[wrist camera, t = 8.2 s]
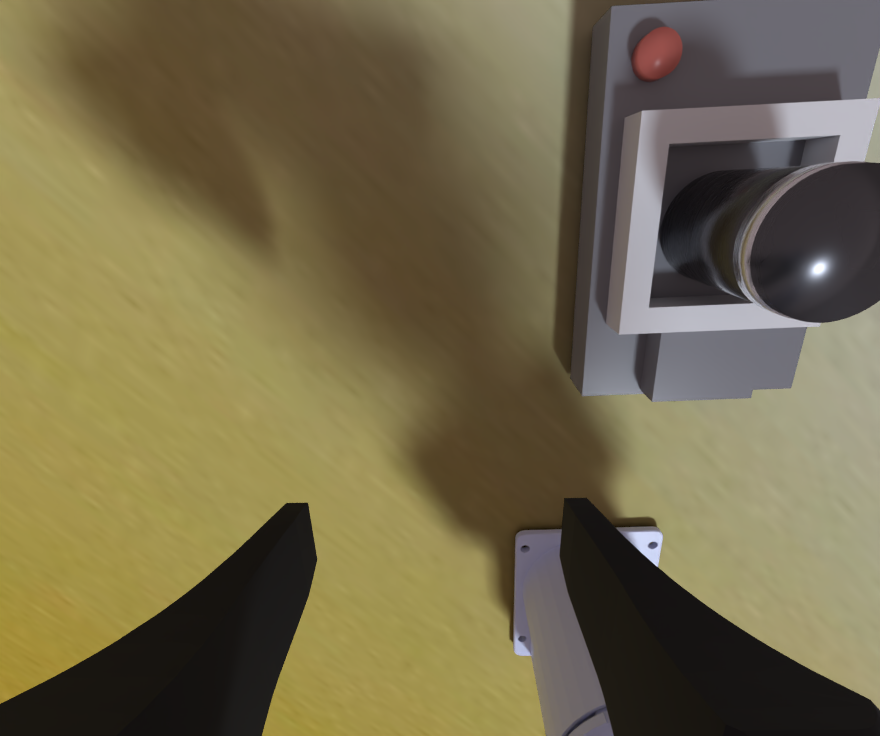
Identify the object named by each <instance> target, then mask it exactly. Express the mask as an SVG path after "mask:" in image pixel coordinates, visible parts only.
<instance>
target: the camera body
mask: <svg viewBox="0 0 880 736" xmlns="http://www.w3.org/2000/svg"><path fill="white" fill-rule="evenodd" d="M879 48H880V0H706V1H689V2H672V3H655V4H638V5H621V6H611V7H610V9H609V10H608V11H607V12H606V13H605V14H604V15H603V16H602V17H601V18H600V20H599V21H598V22H597V23H596V24H595V25H594V26H593V34H592V49H591V65H590V80H589V96H588V111H587V127H586V142H585V158H584V173H583V189H582V204H581V220H580V236H579V251H578V267H577V282H576V298H575V313H574V329H573V344H572V360H571V375H570V379H571V380H572V382H573V383H574V385H575V386H576V388H577V389H578V391H579V392H580V394H581V395H582V396H597V395H623V394H645V395H646V396H647V397H648V398H649V399H650V400H651V401H652V402H657V401H684V400H711V399H738V398H751V395H752V391H753V390H756V389H783V388H791V386H792V383H793V379H794V375H795V371H796V367H797V363H798V359H799V356H800V352H801V348H802V344H803V340H804V336H805V333H806V329H807V327H817V326H820V323H812V322H804V321H799V320H796V319H791V318H786V317H783V316H781V315H778V314H775V313H773V312H770V311H768V310H765V309H763V308H761V307H759V306H757V305H755V304H754V303H752V302H750V301H747V300H744V299H742V298H739V297H737V296H734V295H731V294H729V293H726V292H724V291H721V290H718V289H716V288H713V287H711V286H708V285H706V284H703V283H700V282H698V281H695V280H693V279H690V278H687V277H685V276H683V275H681V274H679V273H678V272H676V271H675V270H674V269H673V268H672V267H671V266H670V265H669V263H668V262H667V261H666V259H665V257H664V254H663V251H662V248H661V240H660V234H661V226H662V222H663V219H664V216H665V213H666V211H667V209H668V207H669V205H670V204H671V202H672V201H673V199H674V198H675V197H676V196H677V194H678V193H679V192H680V191H681V190H682V189H683V188H684V187H685V186H687V185H688V184H689V183H690V182H692V181H694V180H695V179H697V178H699V177H701V176H703V175H705V174H708V173H711V172H715V171H721V170H737V169H756V168H775V167H794V166H811V165H815V164H820V163H831V162H848V161H860V162H864V161H865V157H866V153H867V150H868V146H869V142H870V138H871V135H872V131H873V127H874V124H875V120H876V116H877V113H878V109H879V105H880V98H873V99H866V98H867V94H868V90H869V86H870V83H871V79H872V75H873V71H874V67H875V63H876V59H877V56H878V52H879Z"/></svg>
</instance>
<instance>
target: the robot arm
mask: <svg viewBox="0 0 880 736" xmlns="http://www.w3.org/2000/svg"><path fill="white" fill-rule="evenodd" d="M662 540H663V534H662V533H661V531H660V530H659V528H657V527H653V526H648V527H614V526H613V525H612V523H611V522H610V521H609V520H608V519H607V518H606V517H605V516H604V515H603V514H602V513H601V512H600V511H599V510H598V509H597V508H596V507H595V506H594V505H593V504H592V503H591V502H590V501H589V500H588V499H587V498H564V509H563V520H562V529H549V530H523V531H520V532H518V533H517V534H516V537H515V577H514V631H513V647H514V652H515V653H516V654H517V655H521V656H528V655H531V657H532V663H533V668H534V674H535V679H536V684H537V690H538V695H539V700H540V706H541V711H542V717H543V722H544V727H545V733H546V736H880V710H879V709H878V708H877V707H876V706H875V705H874V704H873V702H872V701H871V700H869V699H868V698H866V697H864V696H862V695H860V694H858V693H856V692H854V691H852V690H850V689H848V688H846V687H844V686H842V685H840V684H838V683H836V682H834V681H832V680H830V679H828V678H826V677H824V676H822V675H820V674H818V673H816V672H814V671H812V670H810V669H808V668H806V667H805V666H803V665H801V664H799V663H797V662H796V661H794V660H792V659H790V658H789V657H787V656H785V655H783V654H782V653H780V652H778V651H776V650H775V649H773V648H771V647H769V646H768V645H766V644H764V643H763V642H761V641H759V640H758V639H756V638H755V637H753V636H751V635H750V634H748V633H747V632H745V631H744V630H742V629H740V628H739V627H737V626H736V625H734V624H733V623H731V622H730V621H728V620H727V619H725V618H724V617H722V616H721V615H719V614H718V613H716V612H715V611H713V610H712V609H711V608H709V607H708V606H706V605H705V604H704V603H702V602H701V601H700V600H698V599H697V598H696V597H694V596H693V595H692V594H690V593H689V592H688V591H686V590H685V589H684V588H682V587H681V586H680V585H678V584H677V583H676V582H675V581H673V580H672V579H671V578H670V577H669V576H667V575H666V574H665V573H664V572H663V571H662V570H660V569H659V568H658V563H659V557H660V552H661V546H662ZM650 542H653V543H651V544H649V543H650ZM524 545H526V546H527V547H524V548H523V547H522V546H524ZM316 562H317V555H316V549H315V543H314V537H313V531H312V525H311V519H310V513H309V507H308V503H286V504H285V505H284V506H283V507H282V508H281V509H280V510H279V511H278V512H277V513H276V514H275V515H273V516H272V517H271V518H270V519H269V520H268V521H267V522H266V523H265V524H264V525H263V526H262V527H261V528H260V529H259V530H258V531H257V532H256V533H255V534H254V535H253V536H252V537H251V538H250V539H249V540H247V541H246V542H245V543H244V544H243V545H242V546H241V547H240V548H239V549H238V550H237V551H236V552H235V553H234V554H232V555H231V556H230V557H229V558H228V559H227V560H226V561H224V562H223V563H222V564H221V565H220V566H219V567H217V568H216V569H215V570H214V571H213V572H212V573H210V574H209V575H208V576H207V577H206V578H205V579H203V580H202V581H201V582H200V583H199V584H197V585H196V586H195V587H194V588H192V589H191V590H190V591H188V592H187V593H186V594H185V595H183V596H182V597H181V598H179V599H178V600H176V601H175V602H174V603H172V604H171V605H170V606H168V607H167V608H166V609H164V610H163V611H161V612H160V613H159V614H157V615H156V616H154V617H153V618H151V619H150V620H148V621H147V622H145V623H143V624H142V625H140V626H139V627H137V628H136V629H134V630H133V631H131V632H130V633H128V634H127V635H125V636H124V637H122V638H121V639H119V640H118V641H116V642H114V643H113V644H111V645H109V646H108V647H106V648H104V649H103V650H101V651H99V652H98V653H96V654H94V655H93V656H91V657H89V658H87V659H85V660H84V661H82V662H80V663H78V664H77V665H75V666H73V667H71V668H70V669H68V670H66V671H64V672H62V673H60V674H58V675H57V676H55V677H53V678H51V679H49V680H47V681H45V682H43V683H41V684H39V685H37V686H35V687H33V688H31V689H29V690H27V691H25V692H23V693H21V694H19V695H17V696H15V697H13V698H11V699H9V700H7V701H5V702H3V703H1V704H0V736H262V732H263V729H264V725H265V721H266V718H267V714H268V710H269V707H270V703H271V699H272V696H273V693H274V690H275V687H276V684H277V681H278V678H279V675H280V672H281V670H282V667H283V664H284V661H285V659H286V656H287V653H288V651H289V648H290V645H291V643H292V640H293V637H294V634H295V632H296V629H297V626H298V624H299V621H300V618H301V615H302V613H303V610H304V607H305V604H306V602H307V599H308V596H309V592H310V588H311V584H312V580H313V576H314V571H315V567H316Z"/></svg>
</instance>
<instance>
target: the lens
mask: <svg viewBox="0 0 880 736" xmlns="http://www.w3.org/2000/svg"><path fill="white" fill-rule="evenodd" d="M660 240H661V248H662V251H663V254H664V257H665V259H666V261H667V262H668V263H669V265H670V266H671V267H672V268H673V269H674V270H675V271H676V272H678V273H679V274H681V275H683V276H685V277H687V278H690V279H693V280H695V281H698V282H700V283H703V284H706V285H708V286H711V287H713V288H716V289H718V290H721V291H724V292H726V293H729V294H731V295H734V296H737V297H739V298H742V299H744V300H747V301H750V302H752V303H754V304H755V305H757V306H759V307H761V308H763V309H765V310H768V311H770V312H773V313H775V314H778V315H781V316H783V317H786V318H791V319H796V320H799V321H804V322H812V323H824V322H832V321H838V320H841V319H844V318H848V317H850V316H853V315H855V314H858V313H860V312H862V311H864V310H866V309H867V308H869V307H871V306H872V305H874V304H875V303H877V302H878V301H880V163H868V162H860V161H848V162H831V163H820V164H815V165H811V166H794V167H775V168H756V169H737V170H721V171H715V172H711V173H708V174H705V175H703V176H701V177H699V178H697V179H695V180H694V181H692V182H690V183H689V184H688V185H687V186H685V187H684V188H683V189H682V190H681V191H680V192H679V193H678V194H677V196H676V197H675V198H674V199H673V201H672V202H671V204H670V205H669V207H668V209H667V211H666V213H665V216H664V219H663V222H662V226H661V234H660Z"/></svg>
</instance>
